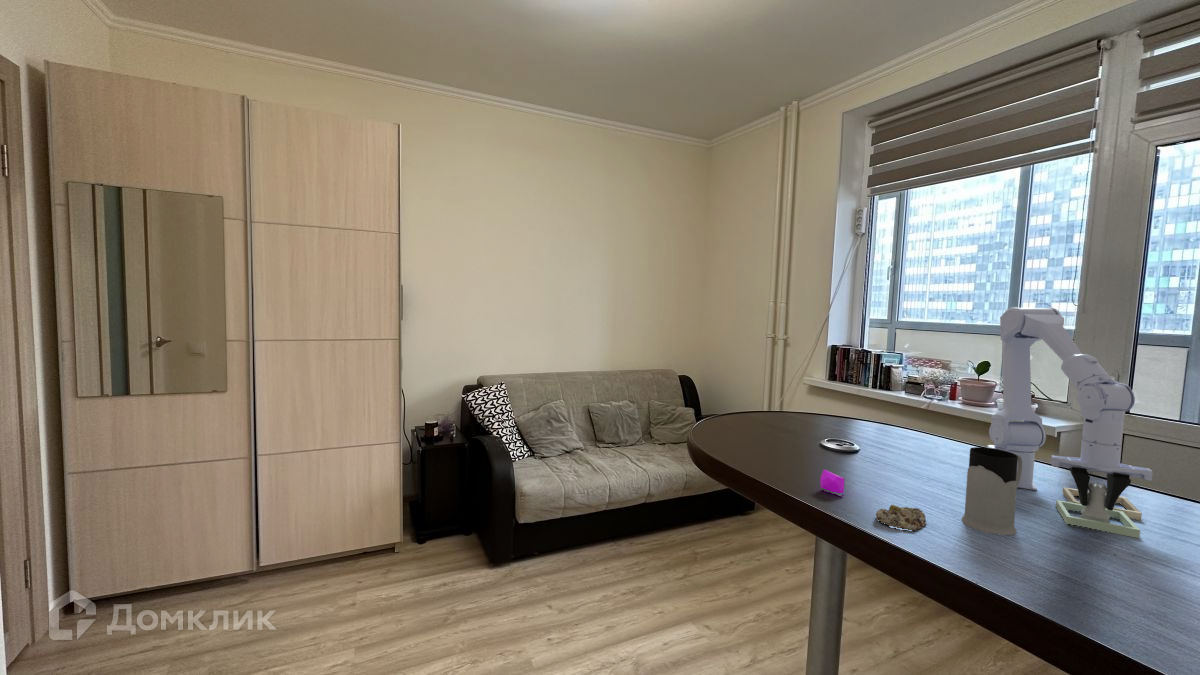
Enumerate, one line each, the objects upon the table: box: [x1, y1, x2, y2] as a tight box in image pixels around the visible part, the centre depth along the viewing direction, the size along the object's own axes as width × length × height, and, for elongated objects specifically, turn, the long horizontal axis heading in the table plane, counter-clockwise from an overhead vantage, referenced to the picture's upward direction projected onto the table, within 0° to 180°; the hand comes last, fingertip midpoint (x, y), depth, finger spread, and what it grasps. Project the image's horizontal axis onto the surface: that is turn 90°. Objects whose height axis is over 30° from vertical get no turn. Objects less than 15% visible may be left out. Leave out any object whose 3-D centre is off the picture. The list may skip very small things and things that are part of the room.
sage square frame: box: [1055, 499, 1141, 539], centre depth 102 cm, size 10×10×2 cm
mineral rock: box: [875, 504, 927, 531], centre depth 100 cm, size 11×4×8 cm
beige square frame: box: [1062, 486, 1143, 521], centre depth 110 cm, size 10×10×2 cm
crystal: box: [819, 469, 846, 493], centre depth 116 cm, size 5×5×5 cm
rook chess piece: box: [1079, 481, 1111, 524], centre depth 102 cm, size 4×4×8 cm
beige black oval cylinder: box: [961, 446, 1022, 536], centre depth 100 cm, size 9×14×15 cm, turn 113°
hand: (1095, 506), depth 102 cm, fingers closed on rook chess piece, 3 cm apart
